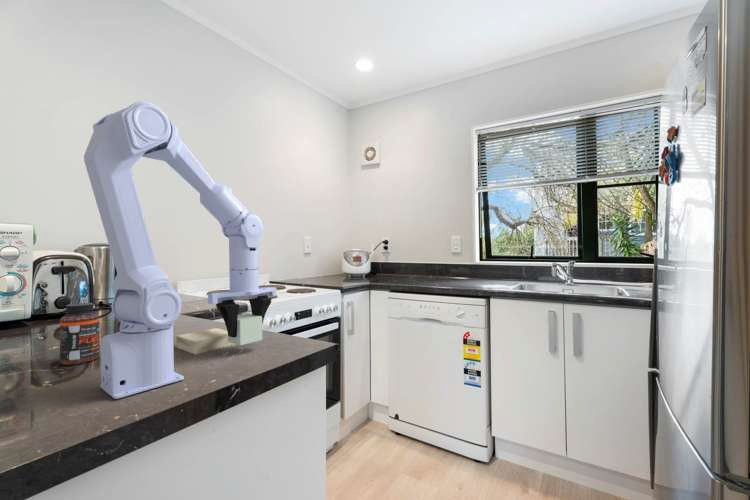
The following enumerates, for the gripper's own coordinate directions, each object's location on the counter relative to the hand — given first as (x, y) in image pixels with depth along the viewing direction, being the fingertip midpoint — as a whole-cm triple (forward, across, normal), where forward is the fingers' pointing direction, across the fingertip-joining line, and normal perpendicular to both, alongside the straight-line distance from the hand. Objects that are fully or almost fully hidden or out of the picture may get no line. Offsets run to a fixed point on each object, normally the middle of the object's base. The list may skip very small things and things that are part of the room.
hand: (245, 333), depth 72 cm
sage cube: (+1, 0, 0) cm, 1 cm away
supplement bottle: (+4, -23, +21) cm, 31 cm away
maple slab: (+4, -3, +11) cm, 12 cm away
